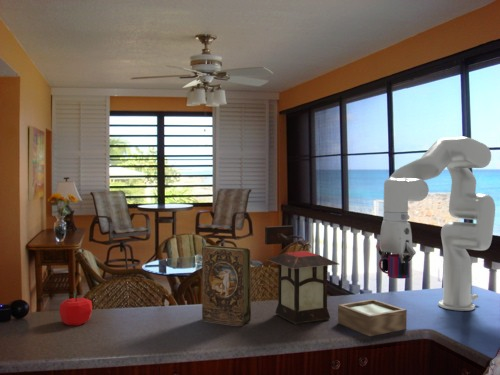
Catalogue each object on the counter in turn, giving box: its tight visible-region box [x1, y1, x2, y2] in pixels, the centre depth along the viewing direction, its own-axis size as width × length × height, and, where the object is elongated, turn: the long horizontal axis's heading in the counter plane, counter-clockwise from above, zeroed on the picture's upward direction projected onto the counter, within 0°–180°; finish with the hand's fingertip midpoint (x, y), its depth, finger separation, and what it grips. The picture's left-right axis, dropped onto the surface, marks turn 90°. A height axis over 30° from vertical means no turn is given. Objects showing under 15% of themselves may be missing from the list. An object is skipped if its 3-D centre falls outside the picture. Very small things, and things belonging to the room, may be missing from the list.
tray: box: [337, 299, 408, 337], centre depth 168 cm, size 15×15×6 cm
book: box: [201, 245, 252, 327], centre depth 173 cm, size 16×6×25 cm, turn 65°
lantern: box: [264, 225, 340, 325], centre depth 181 cm, size 18×26×30 cm
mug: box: [378, 253, 411, 280], centre depth 166 cm, size 7×10×7 cm
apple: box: [59, 292, 93, 326], centre depth 172 cm, size 11×11×10 cm
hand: (394, 272), depth 166 cm, fingers closed on mug, 6 cm apart
